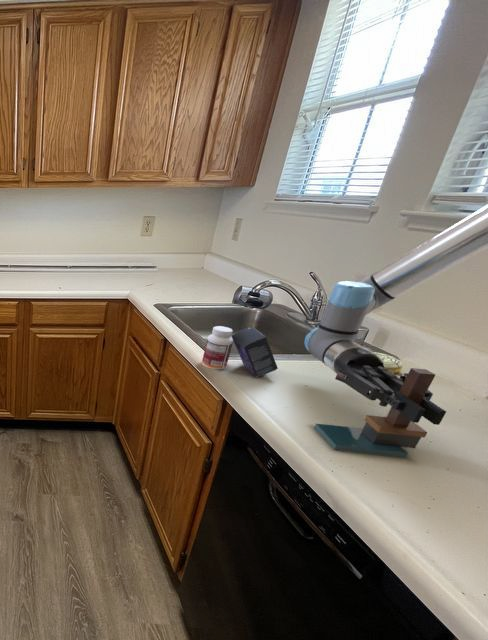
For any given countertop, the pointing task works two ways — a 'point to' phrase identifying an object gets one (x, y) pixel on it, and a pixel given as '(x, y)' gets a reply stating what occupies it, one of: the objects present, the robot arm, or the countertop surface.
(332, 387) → the countertop surface
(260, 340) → the box
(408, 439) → the brush
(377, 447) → the tile
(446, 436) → the countertop surface
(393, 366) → the decorated donut
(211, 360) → the pill bottle
